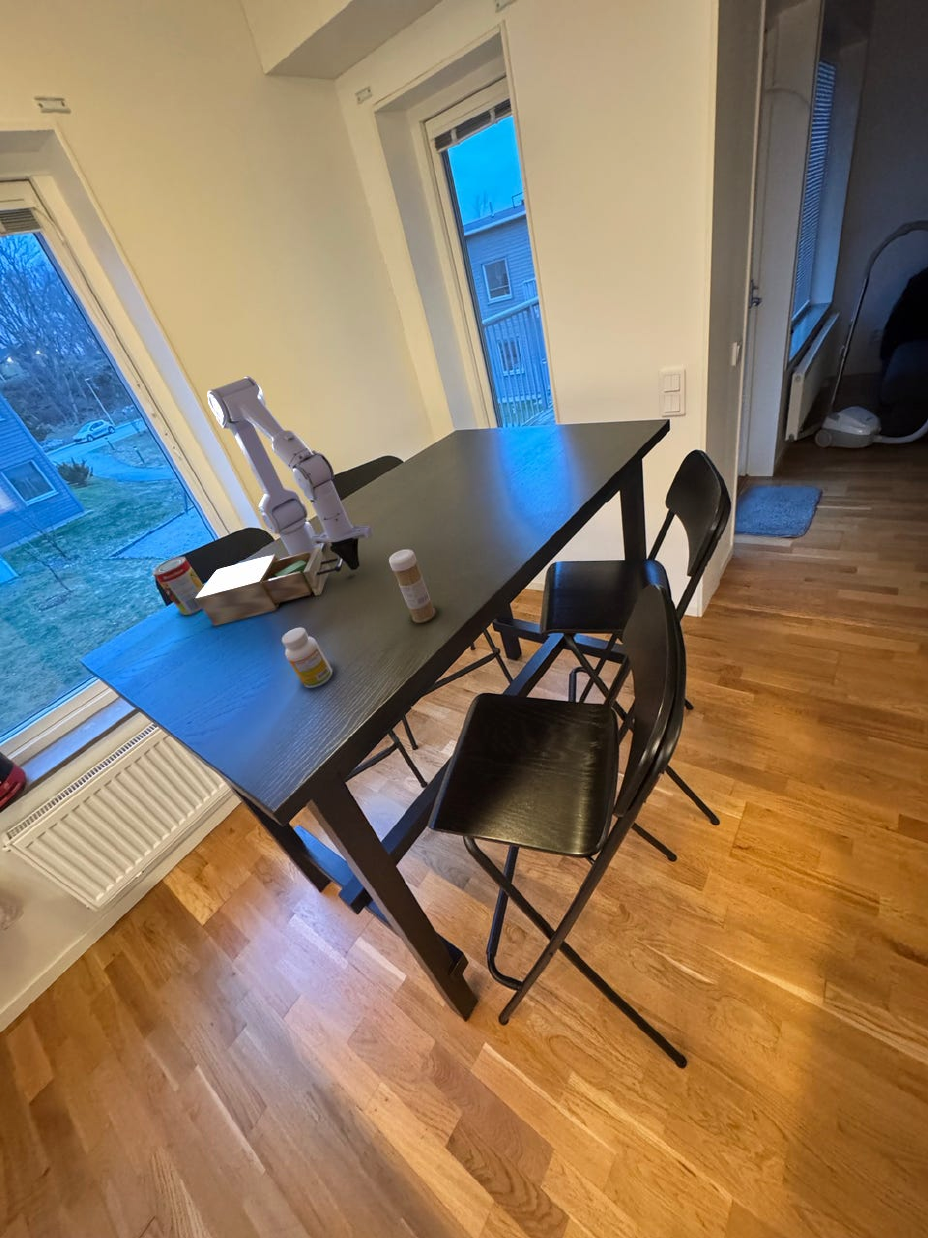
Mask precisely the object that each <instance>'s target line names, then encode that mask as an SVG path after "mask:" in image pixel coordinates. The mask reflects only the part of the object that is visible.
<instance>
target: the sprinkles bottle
mask: <svg viewBox="0 0 928 1238" xmlns="http://www.w3.org/2000/svg"><path fill="white" fill-rule="evenodd" d="M388 562H389V565H390V567H391V570H392V572H394V575H395V577H396V580H397V582H398V586H399V588H400V590H401V593H402V596H403V598H404V600H405V603H406V606H407V607H408V610H409V613H410V614H411V618H412V621H414V622H415V623H418V624H420V623H426V622H428V621H430V620H432V618H433V617H434V616H435V615H436V609H435V608H434V606H433V604H432V600H431V597H430V594H429V592H428V589H427V587H426V584H425V581H424V578H423V576H422V573H421V571H420V569H419V566H418V562H417V556H416V555H415V553H414V551H413V550H411V549H401V550H398V551H396V552H394V553H393V554H391V556H390V557H389V558H388Z"/></svg>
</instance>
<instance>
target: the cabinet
mask: <svg viewBox="0 0 928 1238" xmlns="http://www.w3.org/2000/svg"><path fill="white" fill-rule="evenodd" d="M278 559H279V558H278V555H277V554H275V553H274V554H269V555H267V556H263V557H260V558H255V559H252V560H247V561H245V562H240V563H237V564H234V565H230V566H226V567H222V568H219V569H216V571H215V572H214V573H213V574H212V575H211V577H210V578H209V579H208V581H207V582H206V583H205V584H204V587H203V589H202V590H201V591H200V593H199V594H198V595H197V597H196V598H195V599H196V600H197V602H198V603H199V605H200V606H201V607H202V610H203V612H204V613H205V614H206V616H207V618H208V619H209V620H210V622H211V624H212V625H213V626H214V627H216V626H220V625H224V624H228V623H232V622H236V621H239V620H243V619H247V618H252V617H255V616H260V615H264V614H267V613H271V612H272V613H273V612H274V611H275V612H276V611H277V610H278V608H279V606H280V604H281V602H279V603H275V604H274V603H273V601H272V599H271V597H270V596H269V594H268V592H267V591H266V589H265V587H264V586H263V584H262V583H261V582H262V581H263V579H264V577H265V576H266V574H267V572H268V571H269V569H270V567H271V566H272V564H273V562H274V560H278Z"/></svg>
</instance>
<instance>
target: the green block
mask: <svg viewBox="0 0 928 1238" xmlns="http://www.w3.org/2000/svg"><path fill="white" fill-rule="evenodd" d="M306 566H307V563H306V562H304V561H302V560H299V561H298V562H296V563H294V564H292V565H291V566H289V567H287V568H285V569H284V570H282V571H280V572H278V573H277V574H275V577H280V576H284V575H288V574H292V573H295V572H299V571H300V572H301V574H302V576H303V578H304V580H305V582H306V583H307V582H308V580H307V578H306V576H305V574H304V570H305V568H306Z"/></svg>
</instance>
